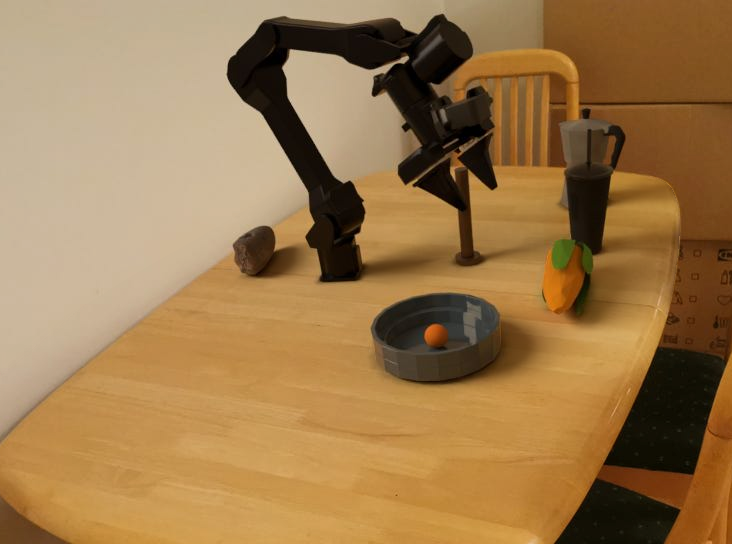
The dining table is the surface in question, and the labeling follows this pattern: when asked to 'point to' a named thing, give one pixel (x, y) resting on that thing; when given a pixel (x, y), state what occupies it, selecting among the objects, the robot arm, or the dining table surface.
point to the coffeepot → (577, 142)
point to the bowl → (454, 359)
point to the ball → (436, 336)
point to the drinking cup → (588, 199)
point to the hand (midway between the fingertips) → (480, 199)
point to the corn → (567, 275)
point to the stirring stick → (465, 223)
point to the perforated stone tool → (254, 249)
